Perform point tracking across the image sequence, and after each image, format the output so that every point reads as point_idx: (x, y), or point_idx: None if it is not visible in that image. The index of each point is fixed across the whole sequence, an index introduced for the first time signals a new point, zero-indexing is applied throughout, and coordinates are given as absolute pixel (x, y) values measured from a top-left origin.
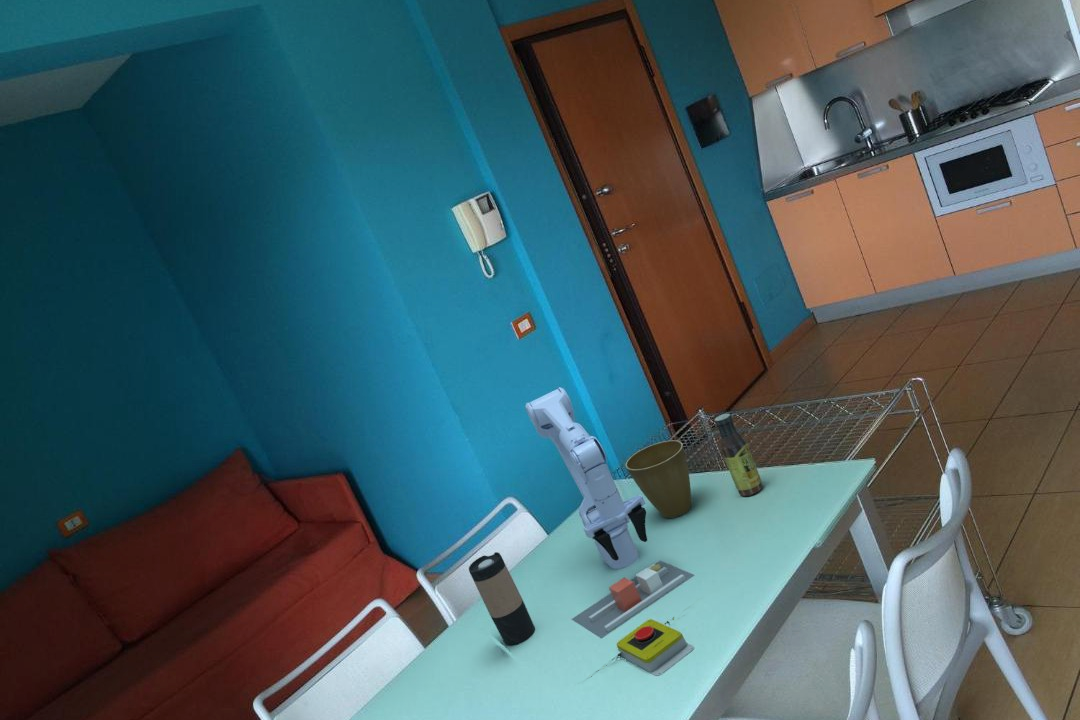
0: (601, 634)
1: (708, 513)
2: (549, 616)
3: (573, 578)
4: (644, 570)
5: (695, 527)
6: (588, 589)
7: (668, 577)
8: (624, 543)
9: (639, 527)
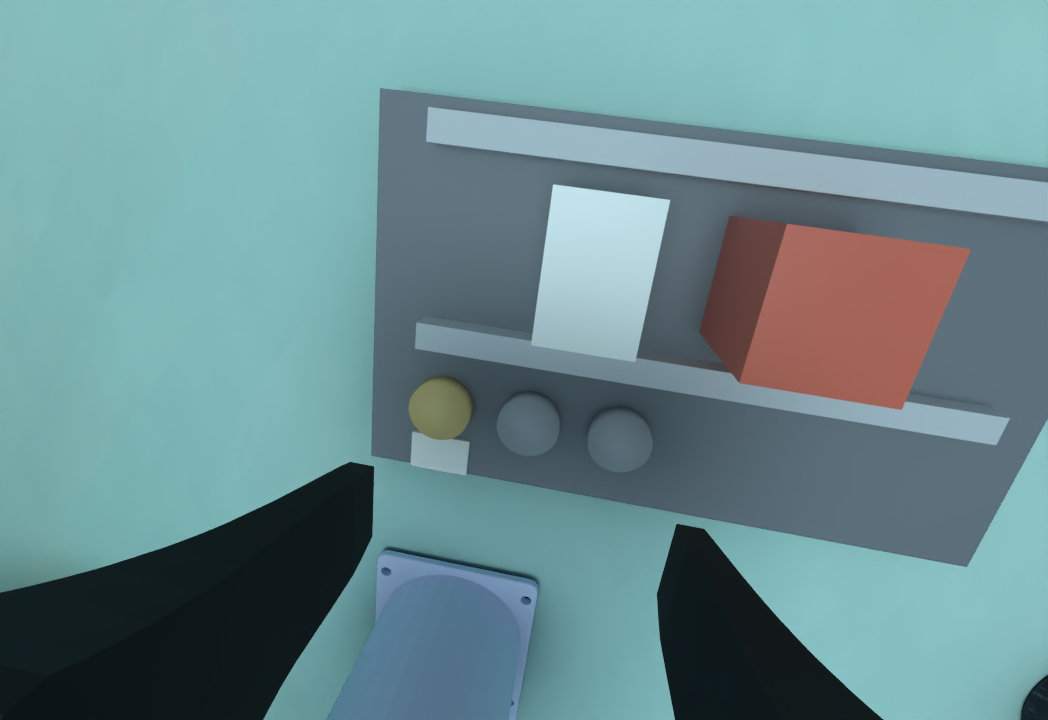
0: None
1: (33, 525)
2: (889, 714)
3: None
4: (567, 329)
5: (120, 508)
6: (655, 674)
7: (465, 265)
8: (402, 693)
9: (273, 576)
